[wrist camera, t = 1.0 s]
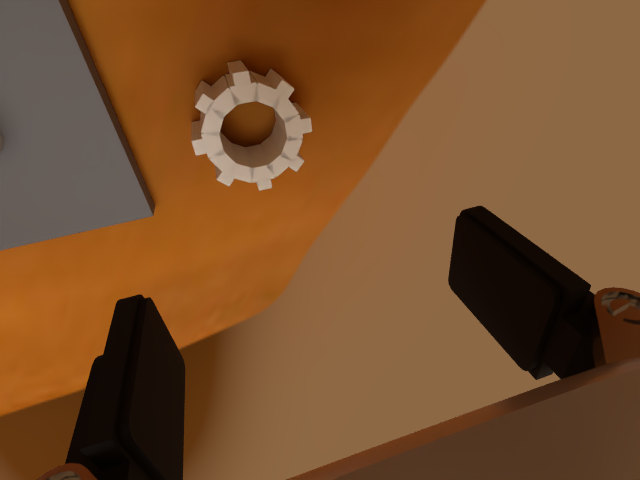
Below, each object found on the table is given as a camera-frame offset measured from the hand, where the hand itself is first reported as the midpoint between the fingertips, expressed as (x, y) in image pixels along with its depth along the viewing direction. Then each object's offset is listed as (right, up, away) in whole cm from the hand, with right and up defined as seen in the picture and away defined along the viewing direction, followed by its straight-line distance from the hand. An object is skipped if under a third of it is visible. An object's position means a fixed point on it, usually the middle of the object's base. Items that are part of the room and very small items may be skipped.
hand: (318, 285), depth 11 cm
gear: (-5, +10, +14) cm, 18 cm away
